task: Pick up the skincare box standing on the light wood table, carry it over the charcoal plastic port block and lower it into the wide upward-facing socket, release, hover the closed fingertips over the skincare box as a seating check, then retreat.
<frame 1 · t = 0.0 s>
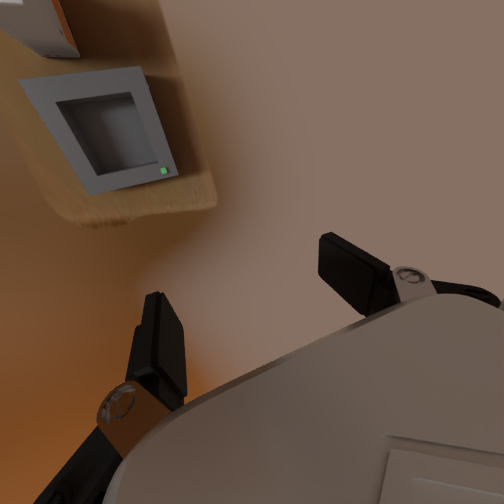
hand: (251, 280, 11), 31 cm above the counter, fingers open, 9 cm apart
skincare box: (49, 24, 23), on the counter
port block: (120, 136, 30), on the counter
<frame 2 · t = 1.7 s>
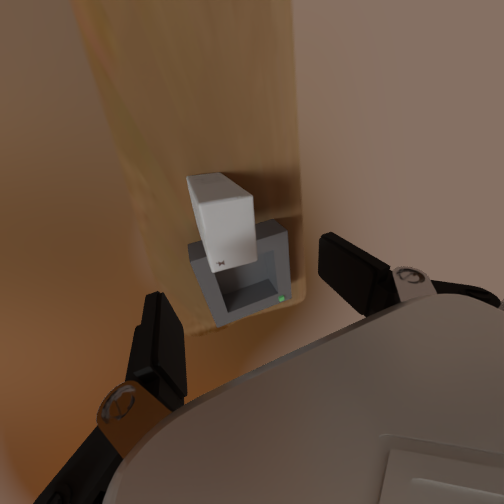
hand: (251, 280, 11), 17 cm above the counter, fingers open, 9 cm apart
skincare box: (207, 197, 25), on the counter
port block: (240, 266, 32), on the counter
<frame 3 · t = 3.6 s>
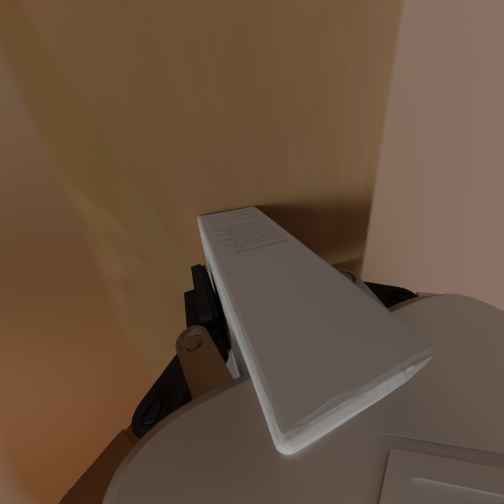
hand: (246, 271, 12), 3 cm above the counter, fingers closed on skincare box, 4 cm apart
skincare box: (231, 245, 15), on the counter, touching gripper
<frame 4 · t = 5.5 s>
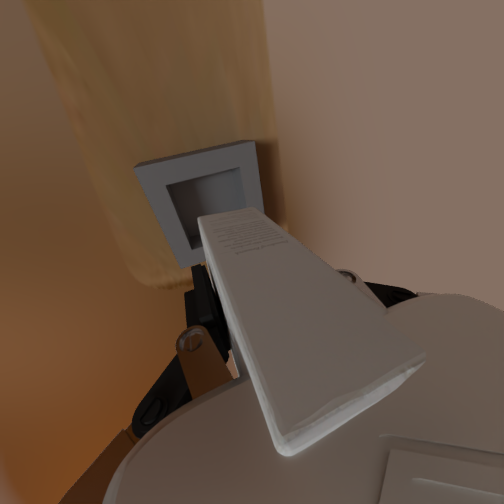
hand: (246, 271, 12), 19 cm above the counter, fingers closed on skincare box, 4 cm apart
skincare box: (231, 245, 15), point 15 cm above the counter, touching gripper
port block: (208, 201, 28), on the counter
when the fingers open (5 cm above the counter, at t = 8.0 s): skincare box drops 1 cm, resting on port block.
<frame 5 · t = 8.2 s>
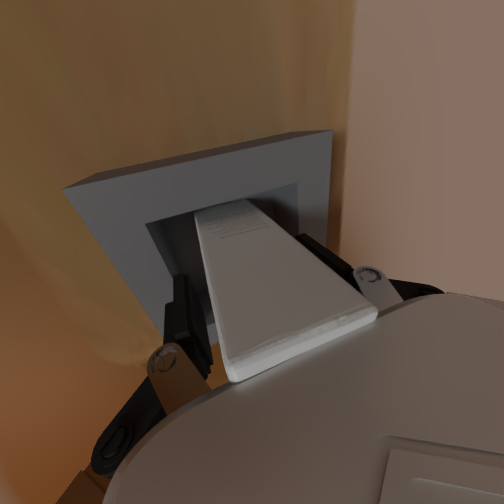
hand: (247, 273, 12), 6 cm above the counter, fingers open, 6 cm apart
skincare box: (227, 236, 16), resting on port block
port block: (226, 236, 16), on the counter
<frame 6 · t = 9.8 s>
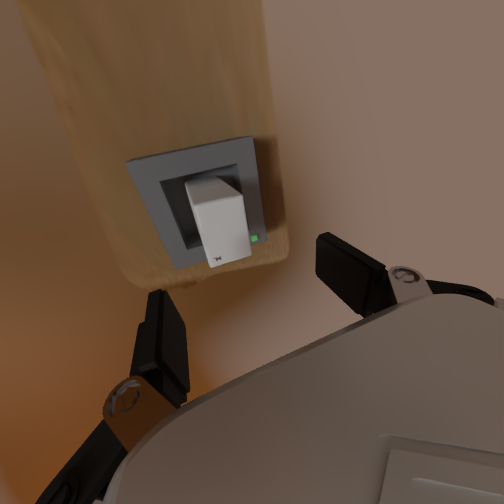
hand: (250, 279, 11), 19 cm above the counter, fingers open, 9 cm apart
skincare box: (205, 199, 27), resting on port block
port block: (205, 199, 27), on the counter
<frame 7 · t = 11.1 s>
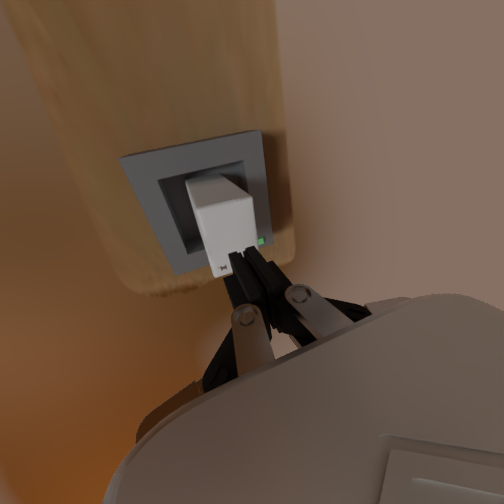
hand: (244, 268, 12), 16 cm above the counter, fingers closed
skincare box: (207, 199, 25), resting on port block
port block: (207, 199, 25), on the counter
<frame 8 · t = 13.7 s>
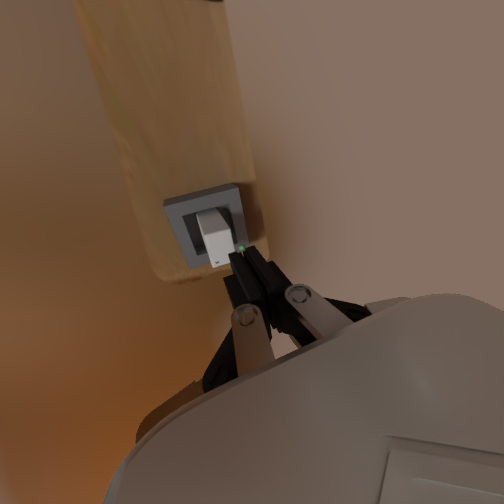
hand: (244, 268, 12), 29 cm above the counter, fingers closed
skincare box: (209, 222, 40), resting on port block
port block: (208, 222, 40), on the counter
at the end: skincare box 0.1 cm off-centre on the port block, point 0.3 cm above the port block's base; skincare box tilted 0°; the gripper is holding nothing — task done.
